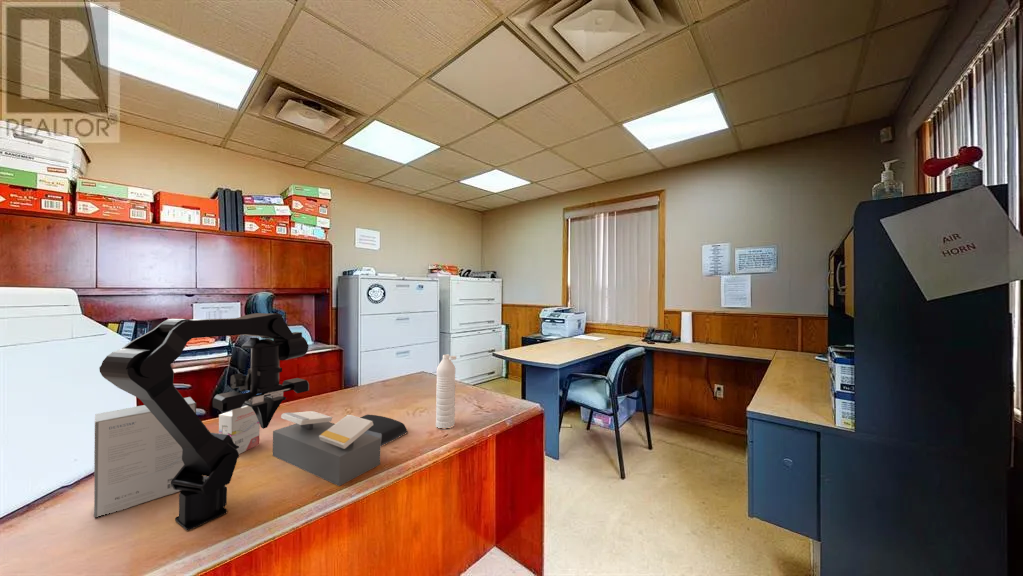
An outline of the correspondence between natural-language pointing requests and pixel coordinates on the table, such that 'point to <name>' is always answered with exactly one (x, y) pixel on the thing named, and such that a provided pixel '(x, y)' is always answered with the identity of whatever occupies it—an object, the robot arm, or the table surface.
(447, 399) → the water bottle
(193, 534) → the table surface
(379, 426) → the external hard drive
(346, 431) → the rocker amber
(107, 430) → the hard drive box
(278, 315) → the robot arm
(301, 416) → the rocker grey
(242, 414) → the ink cartridge box
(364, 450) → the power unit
